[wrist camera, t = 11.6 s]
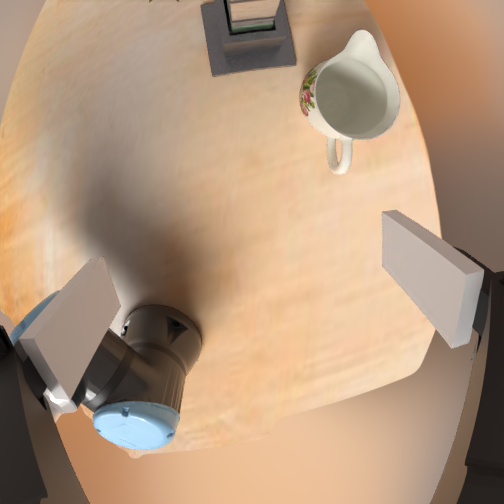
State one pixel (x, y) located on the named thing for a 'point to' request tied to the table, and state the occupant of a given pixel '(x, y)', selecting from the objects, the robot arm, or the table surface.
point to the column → (252, 15)
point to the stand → (245, 42)
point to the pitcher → (350, 97)
